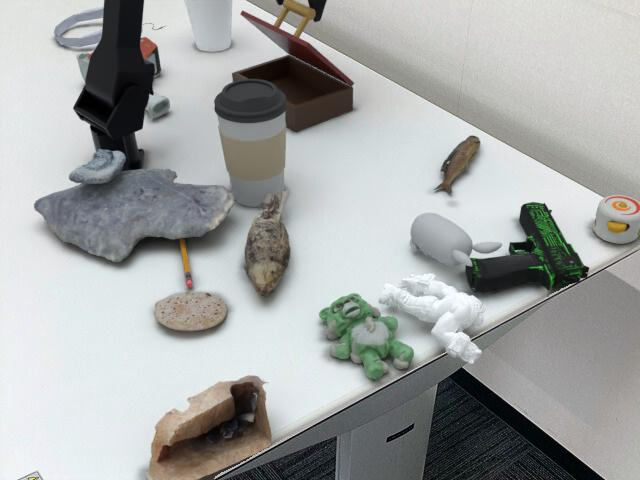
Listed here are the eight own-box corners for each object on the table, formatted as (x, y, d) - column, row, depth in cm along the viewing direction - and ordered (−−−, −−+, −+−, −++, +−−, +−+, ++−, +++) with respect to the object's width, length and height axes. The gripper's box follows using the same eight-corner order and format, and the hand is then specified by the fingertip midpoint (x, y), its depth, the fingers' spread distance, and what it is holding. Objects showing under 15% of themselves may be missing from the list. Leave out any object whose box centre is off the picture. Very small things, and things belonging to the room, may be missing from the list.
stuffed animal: (367, 391, 76) (368, 361, 73) (301, 326, 83) (300, 297, 80) (428, 359, 80) (431, 329, 77) (359, 300, 87) (360, 271, 84)
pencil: (193, 287, 88) (192, 282, 87) (187, 288, 88) (186, 283, 87) (178, 201, 101) (177, 195, 100) (172, 201, 101) (171, 196, 100)
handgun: (477, 306, 86) (600, 292, 88) (480, 285, 84) (606, 272, 86) (437, 228, 97) (547, 218, 100) (440, 208, 95) (552, 198, 98)
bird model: (227, 278, 82) (244, 313, 85) (279, 265, 81) (294, 300, 84) (239, 184, 98) (252, 216, 101) (282, 171, 97) (295, 204, 100)
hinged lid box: (295, 132, 116) (294, 108, 113) (234, 95, 125) (231, 72, 122) (353, 110, 121) (353, 87, 119) (289, 76, 130) (289, 54, 128)
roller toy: (659, 207, 93) (626, 185, 97) (619, 220, 91) (587, 198, 95) (649, 237, 96) (618, 215, 100) (610, 251, 94) (580, 227, 98)
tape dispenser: (166, 131, 119) (196, 70, 132) (162, 100, 115) (193, 40, 128) (56, 119, 119) (97, 60, 133) (48, 88, 115) (91, 30, 129)
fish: (459, 141, 114) (459, 127, 112) (483, 143, 113) (484, 129, 111) (428, 203, 103) (427, 187, 101) (454, 205, 101) (454, 190, 100)
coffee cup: (218, 182, 105) (204, 77, 95) (280, 171, 107) (274, 67, 97) (234, 217, 99) (221, 108, 88) (300, 204, 101) (295, 96, 91)
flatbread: (234, 300, 87) (233, 292, 87) (218, 338, 81) (217, 330, 81) (164, 292, 88) (163, 285, 87) (143, 330, 82) (142, 322, 81)
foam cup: (246, 50, 138) (239, -26, 129) (197, 58, 135) (187, -19, 126) (229, 32, 144) (221, -42, 135) (182, 39, 141) (171, -35, 133)
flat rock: (248, 189, 102) (70, 174, 104) (244, 157, 98) (58, 142, 100) (216, 283, 91) (17, 264, 93) (209, 251, 87) (2, 232, 89)
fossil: (86, 171, 89) (55, 162, 91) (92, 198, 91) (62, 189, 93) (134, 145, 94) (103, 138, 96) (139, 171, 96) (109, 163, 98)
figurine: (367, 341, 82) (475, 374, 79) (370, 306, 78) (483, 340, 75) (399, 283, 88) (499, 312, 85) (403, 248, 84) (507, 278, 82)
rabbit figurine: (394, 243, 93) (459, 288, 85) (407, 204, 91) (474, 247, 83) (431, 243, 97) (495, 286, 89) (443, 206, 95) (511, 246, 87)
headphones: (160, 9, 150) (60, 36, 147) (150, -21, 145) (47, 7, 143) (172, 42, 137) (63, 72, 135) (161, 10, 133) (49, 41, 131)
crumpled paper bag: (143, 478, 69) (133, 403, 65) (254, 434, 76) (250, 364, 72) (174, 506, 65) (165, 428, 61) (287, 457, 72) (284, 384, 69)
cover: (306, 46, 108) (327, 10, 107) (239, 14, 117) (259, -20, 116) (352, 86, 118) (372, 53, 117) (287, 53, 127) (305, 22, 126)
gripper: (380, -97, 106) (376, 18, 117) (299, -121, 117) (303, -14, 127) (318, -83, 101) (320, 35, 112) (239, -110, 111) (248, 0, 122)
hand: (298, 12), depth 118 cm, fingers open, 9 cm apart
